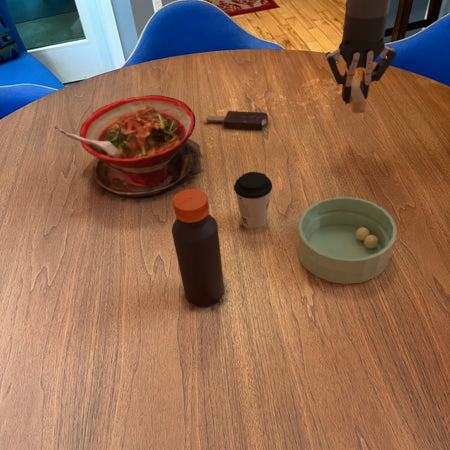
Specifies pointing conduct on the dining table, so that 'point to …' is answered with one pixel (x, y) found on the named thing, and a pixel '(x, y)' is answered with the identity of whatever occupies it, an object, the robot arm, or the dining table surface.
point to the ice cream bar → (242, 120)
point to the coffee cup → (253, 198)
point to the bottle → (197, 248)
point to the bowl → (344, 239)
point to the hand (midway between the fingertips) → (353, 101)
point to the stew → (140, 145)
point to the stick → (357, 98)
